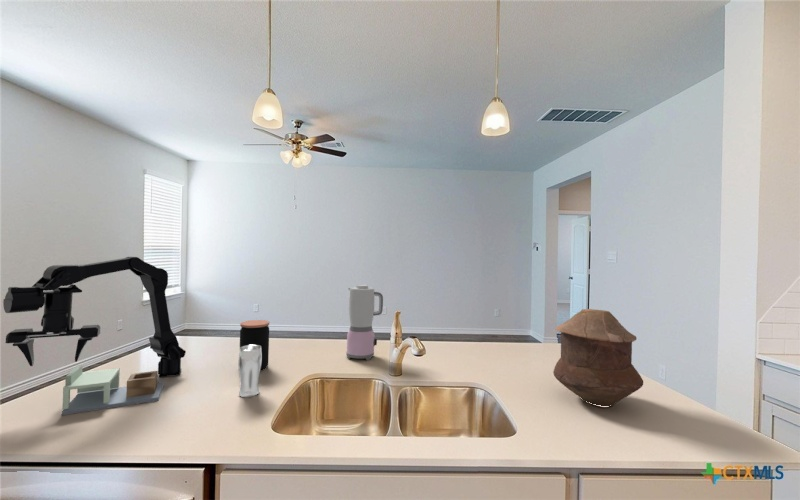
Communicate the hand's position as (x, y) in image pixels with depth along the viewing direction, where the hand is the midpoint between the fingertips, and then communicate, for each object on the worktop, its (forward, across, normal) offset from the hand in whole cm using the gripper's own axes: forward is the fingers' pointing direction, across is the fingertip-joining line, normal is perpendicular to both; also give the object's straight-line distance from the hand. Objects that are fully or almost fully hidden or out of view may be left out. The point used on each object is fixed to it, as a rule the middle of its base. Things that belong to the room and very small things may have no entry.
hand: (54, 363), depth 100 cm
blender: (+11, -100, +1) cm, 101 cm away
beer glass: (+12, -50, +17) cm, 54 cm away
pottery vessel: (+11, -144, +79) cm, 165 cm away
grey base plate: (+12, -15, +1) cm, 19 cm away
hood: (+11, -9, 0) cm, 14 cm away
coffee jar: (+12, -56, -8) cm, 57 cm away
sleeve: (+11, -21, +1) cm, 24 cm away
